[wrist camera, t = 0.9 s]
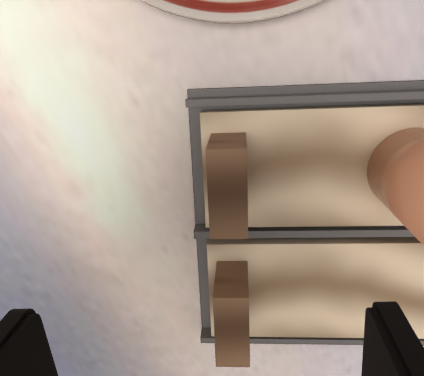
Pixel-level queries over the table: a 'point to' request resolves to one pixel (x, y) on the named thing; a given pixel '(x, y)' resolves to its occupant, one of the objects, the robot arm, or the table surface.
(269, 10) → the dinner plate
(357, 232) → the lane frame
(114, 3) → the table surface
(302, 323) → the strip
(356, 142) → the strip
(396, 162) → the canister
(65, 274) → the table surface
